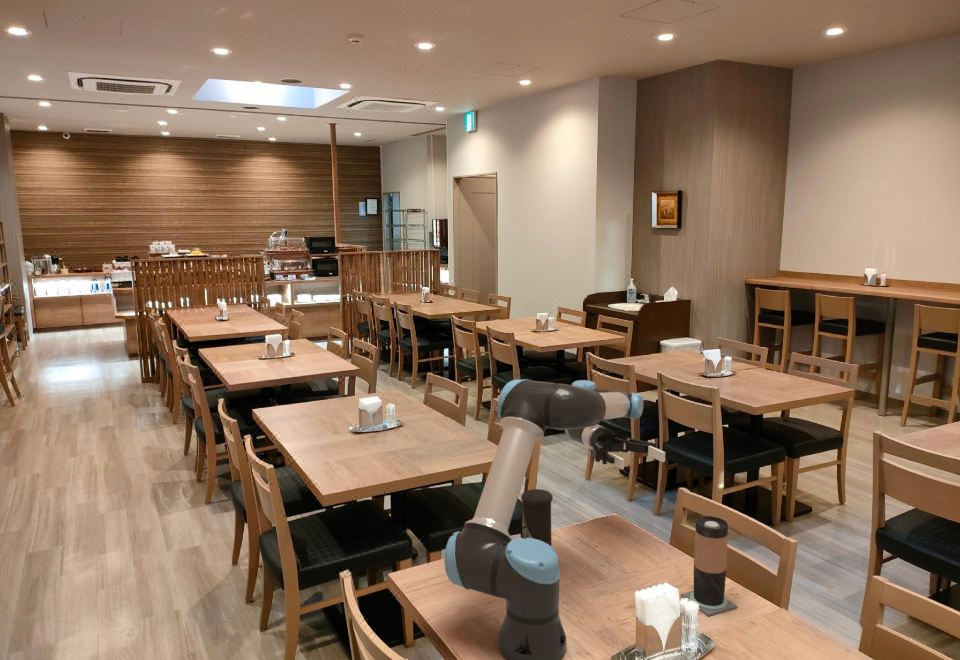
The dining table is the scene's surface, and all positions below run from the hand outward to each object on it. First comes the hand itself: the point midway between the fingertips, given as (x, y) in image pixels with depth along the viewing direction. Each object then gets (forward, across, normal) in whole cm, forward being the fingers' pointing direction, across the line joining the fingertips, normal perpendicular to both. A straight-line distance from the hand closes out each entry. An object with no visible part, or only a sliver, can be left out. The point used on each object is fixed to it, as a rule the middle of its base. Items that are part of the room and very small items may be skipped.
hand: (643, 460), depth 184 cm
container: (-14, +25, -30) cm, 42 cm away
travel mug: (+23, -4, -29) cm, 37 cm away
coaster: (+23, -4, -30) cm, 38 cm away
